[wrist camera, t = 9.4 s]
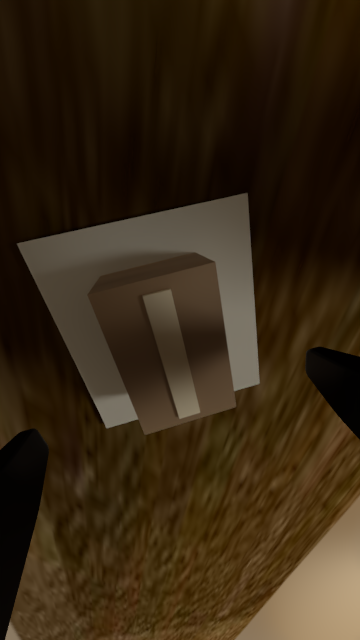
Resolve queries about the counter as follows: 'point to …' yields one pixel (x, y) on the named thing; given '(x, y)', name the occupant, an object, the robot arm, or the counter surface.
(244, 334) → the mat
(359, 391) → the robot arm
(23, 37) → the counter surface
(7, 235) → the counter surface
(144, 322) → the ridged brown block
